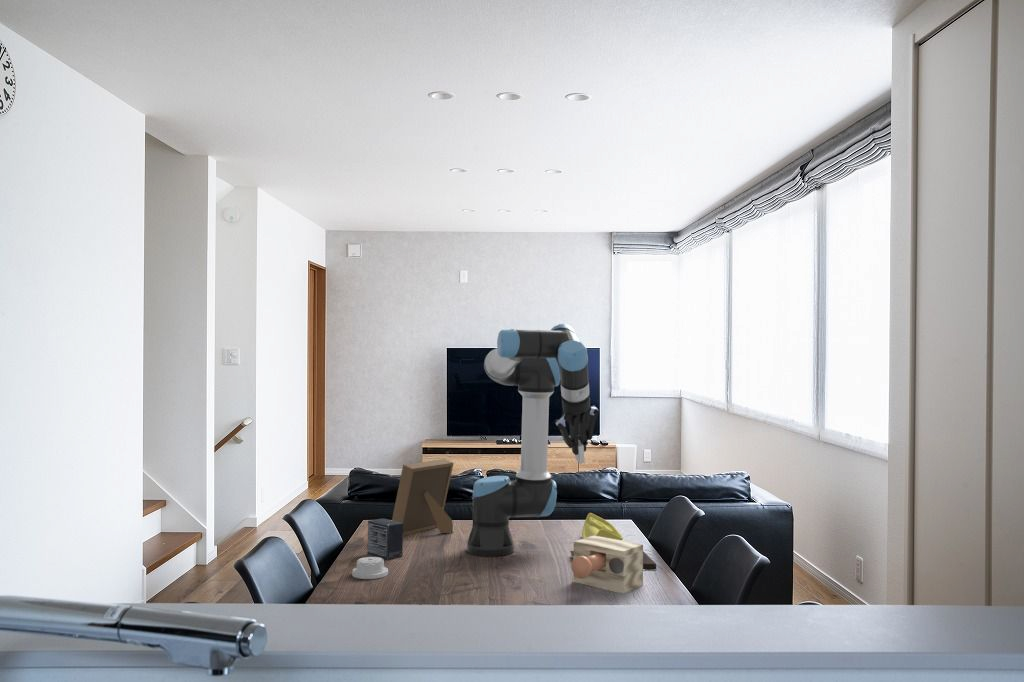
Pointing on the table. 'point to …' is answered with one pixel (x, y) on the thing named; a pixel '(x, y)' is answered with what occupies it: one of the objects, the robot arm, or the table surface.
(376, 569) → the mechanical component
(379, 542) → the small box
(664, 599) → the table surface
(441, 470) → the photo frame
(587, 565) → the plug
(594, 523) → the plastic component
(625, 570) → the socket block
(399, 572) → the table surface
